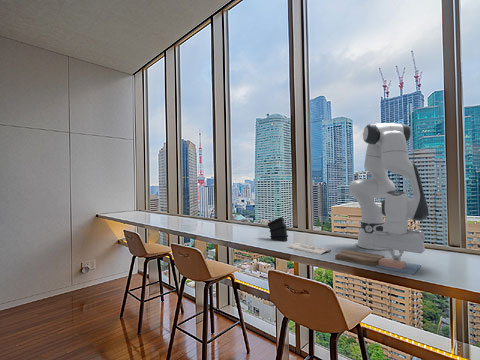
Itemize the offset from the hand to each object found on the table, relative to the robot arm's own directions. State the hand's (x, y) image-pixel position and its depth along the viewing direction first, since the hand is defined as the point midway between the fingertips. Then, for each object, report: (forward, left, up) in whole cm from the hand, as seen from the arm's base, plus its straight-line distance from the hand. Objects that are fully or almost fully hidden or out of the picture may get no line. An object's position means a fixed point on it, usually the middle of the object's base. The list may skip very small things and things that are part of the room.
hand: (396, 260), depth 117 cm
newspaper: (-3, -44, -4) cm, 45 cm away
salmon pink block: (+1, -2, -3) cm, 3 cm away
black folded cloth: (-12, -72, -3) cm, 73 cm away
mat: (-1, 0, -3) cm, 3 cm away
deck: (-1, -16, -3) cm, 16 cm away
